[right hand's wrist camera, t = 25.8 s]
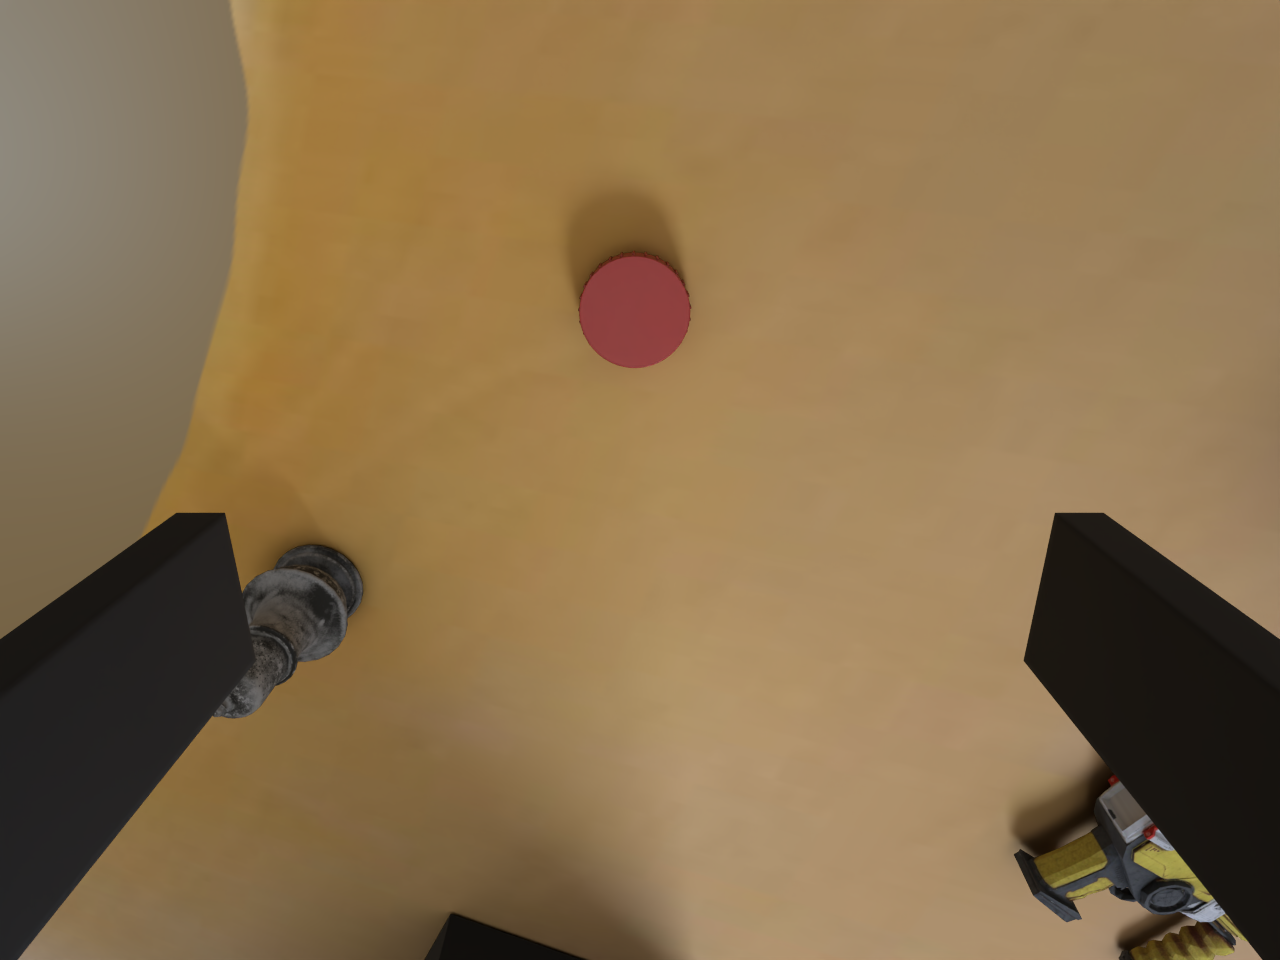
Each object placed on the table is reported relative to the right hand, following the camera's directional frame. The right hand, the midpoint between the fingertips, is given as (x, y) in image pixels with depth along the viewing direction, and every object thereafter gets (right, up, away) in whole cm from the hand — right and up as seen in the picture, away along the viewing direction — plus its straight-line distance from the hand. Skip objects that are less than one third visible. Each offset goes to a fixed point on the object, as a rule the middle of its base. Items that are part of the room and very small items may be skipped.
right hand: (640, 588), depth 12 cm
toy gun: (+38, -27, +42) cm, 62 cm away
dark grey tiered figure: (-19, -4, +33) cm, 39 cm away
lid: (0, +10, +26) cm, 28 cm away
